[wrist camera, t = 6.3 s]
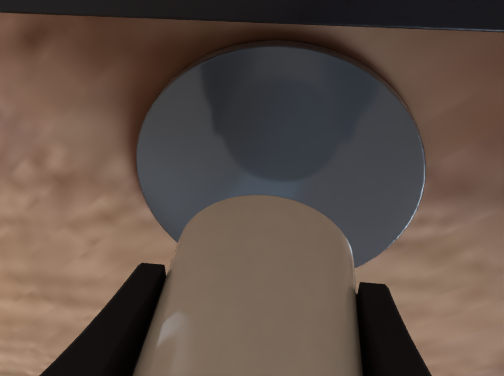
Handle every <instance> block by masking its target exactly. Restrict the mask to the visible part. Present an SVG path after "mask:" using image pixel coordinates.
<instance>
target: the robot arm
mask: <svg viewBox="0 0 504 376" xmlns="http://www.w3.org/2000/svg"><path fill="white" fill-rule="evenodd" d="M165 279H166V272H165V266H164V265H161V264H149V263H141V264H140V265H138V266H137V268H136V269H135V270H134V272H133V273H132V274H131V275H130V277H129V278H128V279H127V280H126V282H125V283H124V284H123V285H122V287H121V288H120V289H119V290H118V291H117V293H116V294H115V295H114V296H113V298H112V299H111V300H110V301H109V302H108V303H107V305H106V306H105V307H104V308H103V309H102V310H101V312H100V313H99V314H98V315H97V316H96V317H95V318H94V319H93V321H92V322H91V323H90V324H89V325H88V326H87V327H86V329H85V330H84V331H83V332H82V333H81V334H80V335H79V336H78V337H77V338H76V339H75V340H74V341H73V342H72V343H71V344H70V345H69V347H68V348H67V349H66V350H65V351H64V352H63V353H62V354H61V355H60V356H59V357H58V358H57V359H56V360H55V361H54V362H53V363H52V364H51V365H50V366H49V367H48V368H47V369H46V370H45V371H44V372H43V373H42V374H41V375H39V376H132V373H133V370H134V367H135V364H136V362H137V359H138V356H139V353H140V350H141V347H142V344H143V342H144V339H145V336H146V333H147V330H148V327H149V324H150V322H151V319H152V316H153V313H154V310H155V307H156V304H157V302H158V299H159V296H160V293H161V290H162V287H163V284H164V282H165ZM357 302H358V313H359V324H360V335H361V345H362V356H363V367H364V376H432V375H431V374H430V372H429V370H428V368H427V366H426V365H425V363H424V361H423V359H422V357H421V356H420V354H419V352H418V350H417V348H416V346H415V344H414V343H413V341H412V339H411V337H410V335H409V333H408V331H407V329H406V327H405V325H404V323H403V320H402V318H401V316H400V314H399V312H398V310H397V307H396V305H395V303H394V301H393V298H392V296H391V293H390V291H389V288H388V287H387V286H386V285H385V284H376V283H364V282H360V285H359V289H358V293H357Z"/></svg>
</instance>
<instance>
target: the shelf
mask: <svg viewBox="0 0 504 376" xmlns="http://www.w3.org/2000/svg"><path fill="white" fill-rule="evenodd" d="M0 13H20V14H46V15H72V16H97V17H123V18H149V19H174V20H200V21H226V22H251V23H277V24H302V25H328V26H354V27H379V28H405V29H431V30H456V31H482V32H504V0H0Z"/></svg>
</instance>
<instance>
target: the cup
mask: <svg viewBox="0 0 504 376" xmlns="http://www.w3.org/2000/svg"><path fill="white" fill-rule="evenodd" d="M132 376H364V367H363V356H362V345H361V335H360V324H359V313H358V302H357V291H356V280H355V269H354V259H353V253H352V249H351V246H350V244H349V242H348V240H347V238H346V237H345V235H344V234H343V233H342V231H341V230H340V229H339V228H338V227H337V225H336V224H335V223H334V222H333V221H331V220H330V219H329V218H328V217H326V216H325V215H324V214H322V213H321V212H319V211H317V210H316V209H314V208H312V207H310V206H308V205H306V204H304V203H301V202H298V201H295V200H292V199H288V198H284V197H279V196H272V195H242V196H236V197H231V198H227V199H224V200H221V201H218V202H216V203H214V204H212V205H209V206H208V207H206V208H205V209H203V210H201V211H200V212H199V213H197V214H196V215H195V216H194V217H193V218H192V219H191V220H190V221H189V222H188V224H187V225H186V226H185V228H184V230H183V231H182V233H181V236H180V239H179V242H178V244H177V247H176V250H175V253H174V256H173V259H172V262H171V264H170V267H169V270H168V273H167V276H166V279H165V282H164V284H163V287H162V290H161V293H160V296H159V299H158V302H157V304H156V307H155V310H154V313H153V316H152V319H151V322H150V324H149V327H148V330H147V333H146V336H145V339H144V342H143V344H142V347H141V350H140V353H139V356H138V359H137V362H136V364H135V367H134V370H133V373H132Z"/></svg>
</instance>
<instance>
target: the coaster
mask: <svg viewBox="0 0 504 376" xmlns="http://www.w3.org/2000/svg"><path fill="white" fill-rule="evenodd" d="M136 165H137V174H138V179H139V183H140V187H141V191H142V193H143V196H144V198H145V200H146V203H147V205H148V207H149V208H150V210H151V212H152V214H153V215H154V217H155V218H156V220H157V221H158V222H159V224H160V225H161V226H162V227H163V229H164V230H165V231H166V232H167V233H168V234H169V235H170V236H171V237H172V238H173V239H174V240H175V241H176V242H177V243H178V242H179V239H180V236H181V233H182V231H183V230H184V228H185V226H186V225H187V224H188V222H189V221H190V220H191V219H192V218H193V217H194V216H195V215H196V214H197V213H199V212H200V211H201V210H203V209H205V208H206V207H208V206H209V205H212V204H214V203H216V202H218V201H221V200H224V199H227V198H231V197H236V196H242V195H272V196H279V197H284V198H288V199H292V200H295V201H298V202H301V203H304V204H306V205H308V206H310V207H312V208H314V209H316V210H317V211H319V212H321V213H322V214H324V215H325V216H326V217H328V218H329V219H330V220H331V221H333V222H334V223H335V224H336V225H337V227H338V228H339V229H340V230H341V231H342V233H343V234H344V235H345V237H346V238H347V240H348V242H349V244H350V246H351V249H352V253H353V259H354V268H357V267H359V266H361V265H363V264H365V263H366V262H368V261H370V260H371V259H373V258H375V257H376V256H378V255H379V254H380V253H382V252H383V251H384V250H386V249H387V248H388V247H389V246H390V245H391V244H392V243H393V242H394V241H395V240H396V239H397V238H398V237H399V236H400V235H401V234H402V232H403V231H404V230H405V229H406V227H407V226H408V225H409V223H410V221H411V220H412V218H413V216H414V214H415V213H416V211H417V208H418V205H419V203H420V200H421V198H422V194H423V189H424V185H425V177H426V161H425V153H424V147H423V143H422V140H421V137H420V134H419V130H418V128H417V125H416V123H415V121H414V119H413V117H412V115H411V113H410V111H409V109H408V108H407V106H406V105H405V103H404V102H403V101H402V99H401V98H400V96H399V95H398V94H397V93H396V92H395V91H394V89H393V88H392V87H391V86H390V85H389V84H388V83H387V82H386V81H385V80H384V79H383V78H381V77H380V76H379V75H377V74H376V73H375V72H373V71H372V70H371V69H369V68H368V67H367V66H365V65H363V64H361V63H359V62H358V61H356V60H354V59H352V58H350V57H349V56H346V55H344V54H341V53H339V52H336V51H334V50H331V49H328V48H325V47H321V46H317V45H313V44H309V43H303V42H294V41H285V40H274V41H256V42H250V43H243V44H238V45H234V46H231V47H228V48H224V49H221V50H218V51H216V52H213V53H211V54H209V55H207V56H205V57H202V58H200V59H199V60H197V61H195V62H194V63H192V64H191V65H189V66H188V67H186V68H185V69H183V70H182V71H181V72H180V73H179V74H177V75H176V76H175V77H174V78H173V79H172V80H171V81H169V83H168V84H167V85H166V86H165V87H164V89H163V90H162V91H161V92H160V93H159V95H158V96H157V97H156V99H155V101H154V102H153V104H152V106H151V107H150V109H149V111H148V112H147V114H146V116H145V119H144V121H143V124H142V126H141V129H140V133H139V137H138V142H137V151H136Z"/></svg>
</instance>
